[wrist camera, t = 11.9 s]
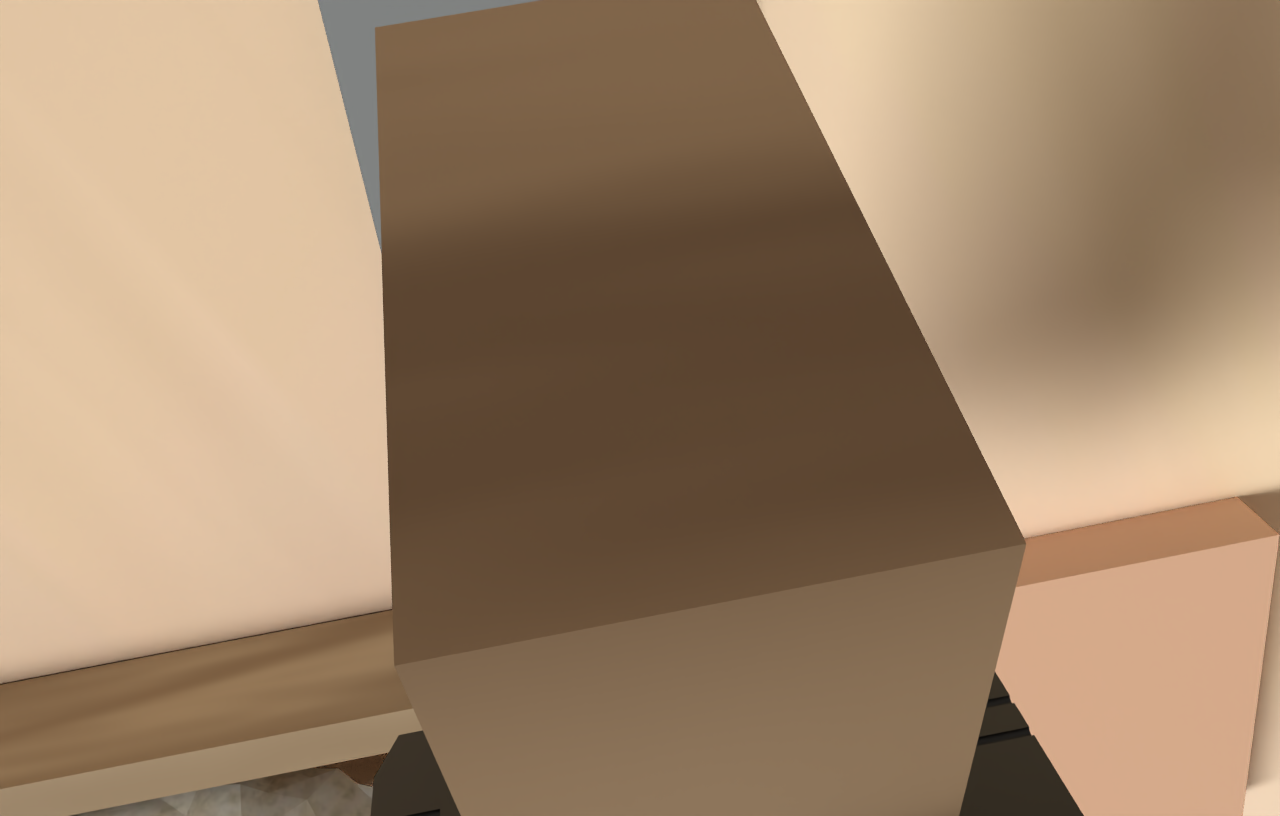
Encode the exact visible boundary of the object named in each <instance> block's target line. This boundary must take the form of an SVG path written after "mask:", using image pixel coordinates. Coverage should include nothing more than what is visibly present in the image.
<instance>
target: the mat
mask: <svg viewBox="0 0 1280 816" xmlns="http://www.w3.org/2000/svg"><path fill="white" fill-rule="evenodd" d="M534 1H540V0H318V3H319V7H320V11H321V15H322V19H323V23H324V27H325V31H326V35H327V39H328V42H329V46H330V50H331V54H332V58H333V62H334V66H335V70H336V74H337V78H338V82H339V86H340V90H341V94H342V98H343V102H344V106H345V110H346V114H347V118H348V122H349V126H350V130H351V134H352V138H353V142H354V146H355V150H356V154H357V158H358V162H359V166H360V170H361V174H362V177H363V181H364V185H365V189H366V193H367V197H368V201H369V205H370V209H371V213H372V217H373V221H374V225H375V229H376V233H377V237H378V241H379V245H380V249H381V253H382V248H381V214H380V181H379V148H378V115H377V82H376V49H375V27H381V26H387V25H393V24H399V23H405V22H411V21H418V20H424V19H430V18H436V17H442V16H448V15H454V14H460V13H466V12H473V11H479V10H485V9H491V8H497V7H503V6H509V5H515V4H521V3H527V2H534Z"/></svg>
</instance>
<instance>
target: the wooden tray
mask: <svg viewBox="0 0 1280 816" xmlns="http://www.w3.org/2000/svg"><path fill="white" fill-rule="evenodd" d="M417 731H422V727H421V725H420V723H419V721H418V718H417V716H416V714H415V712H414V709H413V707H412V705H411V703H410V700H409V698H408V696H407V694H406V691H405V689H404V687H403V685H402V682H401V680H400V678H399V676H398V673H397V671H396V669H395V667H394V645H393V612H392V610H390V611H384V612H379V613H374V614H369V615H363V616H358V617H353V618H348V619H343V620H337V621H332V622H327V623H322V624H316V625H311V626H306V627H301V628H295V629H290V630H285V631H280V632H274V633H269V634H264V635H259V636H254V637H248V638H243V639H238V640H233V641H227V642H222V643H217V644H212V645H206V646H201V647H196V648H191V649H185V650H180V651H175V652H170V653H165V654H159V655H154V656H149V657H144V658H138V659H133V660H128V661H123V662H117V663H112V664H107V665H102V666H96V667H91V668H86V669H81V670H76V671H70V672H65V673H60V674H55V675H49V676H44V677H39V678H34V679H28V680H23V681H18V682H13V683H7V684H2V685H0V816H70V815H75V814H80V813H85V812H90V811H95V810H100V809H105V808H110V807H116V806H121V805H126V804H131V803H136V802H141V801H146V800H151V799H156V798H161V797H166V796H171V795H176V794H181V793H186V792H191V791H197V790H202V789H207V788H212V787H217V786H222V785H227V784H232V783H237V782H242V781H247V780H252V779H257V778H262V777H267V776H272V775H278V774H283V773H288V772H293V771H298V770H303V769H308V768H313V767H318V766H323V765H328V764H333V763H338V762H343V761H348V760H354V759H359V758H364V757H369V756H374V755H379V754H384V753H389V751H390V749H391V748H392V746H393V744H394V742H395V741H396V739H397V737H398V736H399V735H402V734H407V733H412V732H417Z"/></svg>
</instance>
